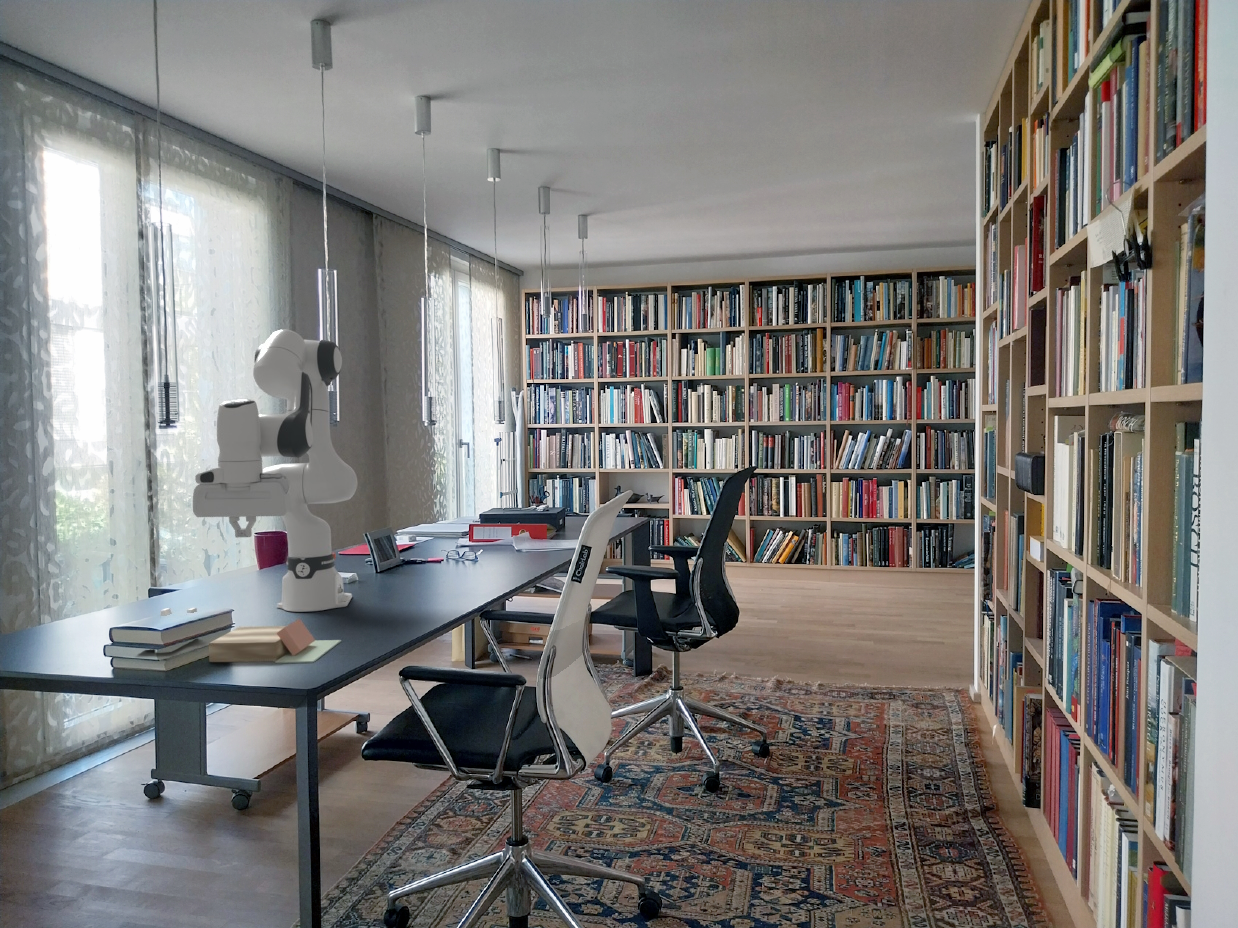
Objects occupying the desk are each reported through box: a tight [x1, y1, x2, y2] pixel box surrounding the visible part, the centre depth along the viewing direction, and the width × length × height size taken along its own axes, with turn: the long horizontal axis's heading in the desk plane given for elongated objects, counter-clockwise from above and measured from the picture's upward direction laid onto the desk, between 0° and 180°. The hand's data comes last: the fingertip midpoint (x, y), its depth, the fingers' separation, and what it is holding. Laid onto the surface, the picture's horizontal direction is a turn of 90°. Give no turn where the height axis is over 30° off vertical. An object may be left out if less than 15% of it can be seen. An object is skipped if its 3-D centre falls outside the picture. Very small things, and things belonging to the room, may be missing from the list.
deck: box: [208, 625, 290, 663], centre depth 196 cm, size 15×14×4 cm
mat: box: [274, 639, 342, 664], centre depth 196 cm, size 18×8×1 cm, turn 179°
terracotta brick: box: [277, 618, 316, 656], centre depth 196 cm, size 9×6×2 cm
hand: (243, 537), depth 197 cm, fingers closed
